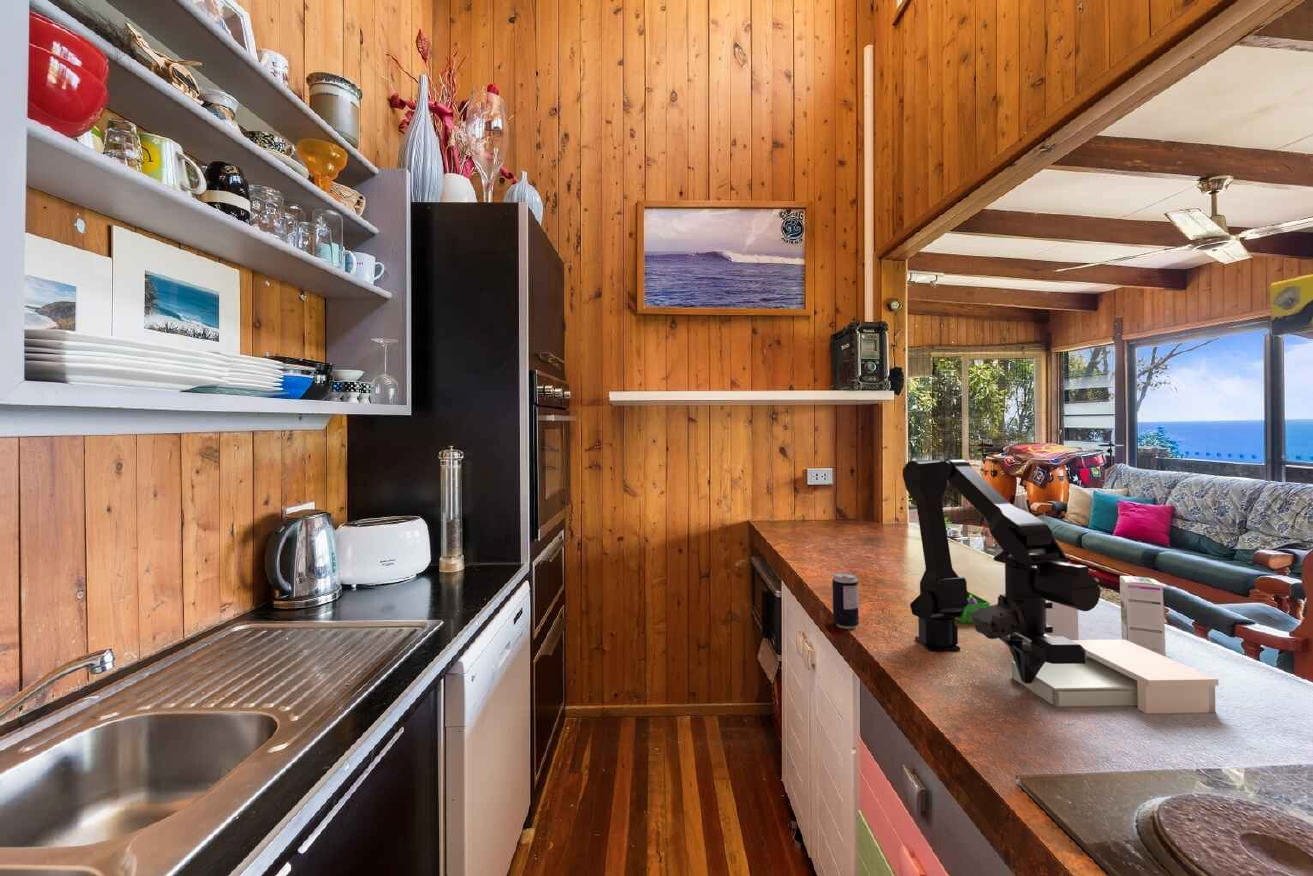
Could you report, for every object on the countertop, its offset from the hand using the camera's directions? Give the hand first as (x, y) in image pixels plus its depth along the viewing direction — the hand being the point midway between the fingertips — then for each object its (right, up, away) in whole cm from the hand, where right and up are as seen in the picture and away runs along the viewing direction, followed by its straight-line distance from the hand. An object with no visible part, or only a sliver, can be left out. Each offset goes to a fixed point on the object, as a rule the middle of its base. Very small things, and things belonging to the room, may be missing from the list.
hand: (1026, 682), depth 88 cm
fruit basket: (+11, -2, +37) cm, 39 cm away
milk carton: (+20, -2, +20) cm, 28 cm away
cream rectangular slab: (+9, -1, 0) cm, 9 cm away
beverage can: (-19, -2, +32) cm, 38 cm away
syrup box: (+36, -1, +16) cm, 39 cm away
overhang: (+19, -1, 0) cm, 19 cm away
